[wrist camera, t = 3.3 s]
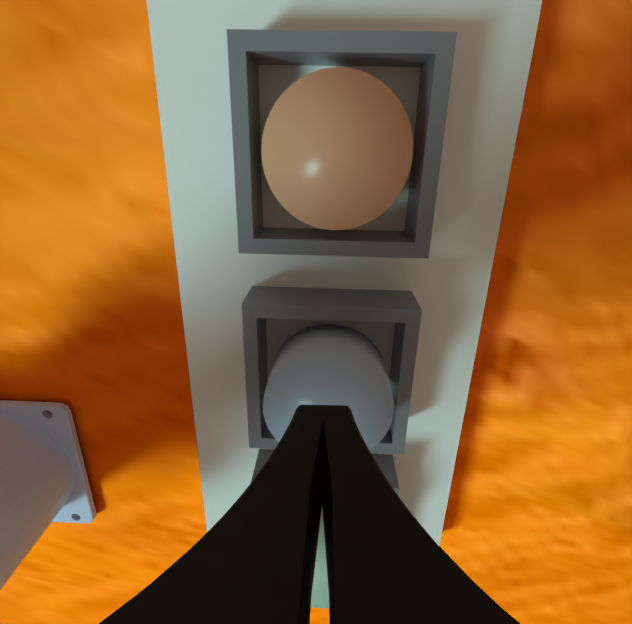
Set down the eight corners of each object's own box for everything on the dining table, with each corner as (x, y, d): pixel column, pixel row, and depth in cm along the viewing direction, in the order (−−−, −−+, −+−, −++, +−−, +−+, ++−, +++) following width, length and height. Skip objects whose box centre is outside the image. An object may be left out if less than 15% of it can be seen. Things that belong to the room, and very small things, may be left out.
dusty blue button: (272, 421, 17) (264, 459, 14) (270, 322, 15) (260, 349, 13) (381, 425, 16) (388, 464, 14) (390, 326, 15) (400, 354, 13)
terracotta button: (273, 216, 15) (263, 228, 13) (270, 78, 13) (258, 65, 11) (394, 220, 15) (404, 232, 13) (407, 80, 13) (421, 68, 11)
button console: (219, 527, 24) (198, 597, 20) (169, 11, 14) (112, -36, 11) (426, 537, 23) (444, 610, 20) (515, 15, 14) (582, -33, 10)
